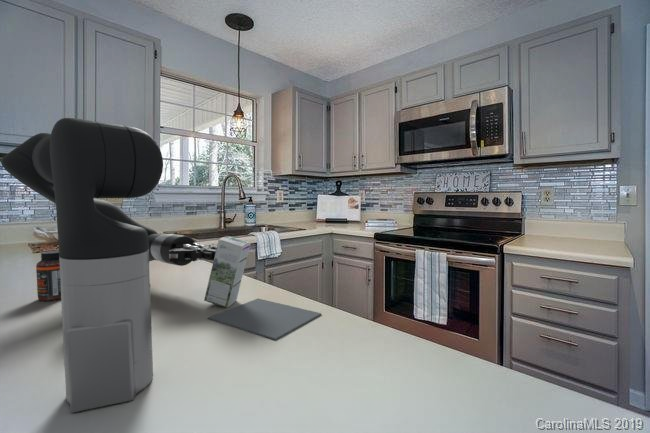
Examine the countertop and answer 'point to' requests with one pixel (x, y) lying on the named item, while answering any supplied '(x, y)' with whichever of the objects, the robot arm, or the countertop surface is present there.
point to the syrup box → (227, 271)
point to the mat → (265, 318)
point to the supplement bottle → (49, 276)
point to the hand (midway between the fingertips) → (217, 255)
